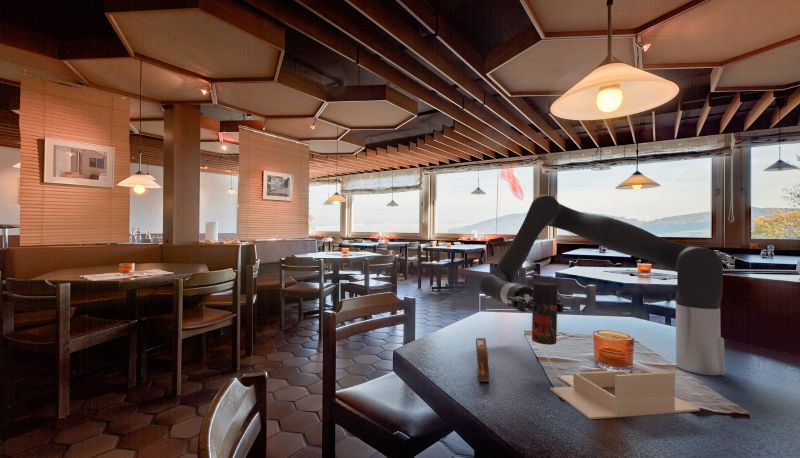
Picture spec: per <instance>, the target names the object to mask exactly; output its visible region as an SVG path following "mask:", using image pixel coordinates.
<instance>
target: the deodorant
mask: <svg viewBox="0 0 800 458" xmlns="http://www.w3.org/2000/svg"><path fill="white" fill-rule="evenodd" d="M558 286H559V285H558V284H557V283H554V282H548V281H547V282H544V281H535V282H534V281H533V282H532V289H533V302H534V303H537V304H539V306H540V312H539V313H535V312H533V311H531V313H532V318H531V319H532V320H531V324H532V325H531V326H532V327H531V340H532V342H534V343H537V344H541V345H550V346H551V345H556V344H557V337H558V336H557V332H558V329H557V328H558V327H557V326H558V312H557V299H558Z"/></svg>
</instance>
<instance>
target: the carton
mask: <svg viewBox="0 0 800 458" xmlns="http://www.w3.org/2000/svg"><path fill="white" fill-rule="evenodd" d="M557 379H559V380H560V381H562V382H564V383H565V384H566V385H568V386H557V387H549V390H550V391H551V392H553V394H555V395H557V396H558V397H559V398H561V399H562V400H563V401H564V402H565V403H567V404H569V405H570V406H571V407H573V408H574V409H575V410H577V411H578V412H579V413H580V414H582V415H583V416H585V417H586V418H587V419H589V420H598V419H610V418H612V419H613V418H624V417H626V418H627V417H637V416H651V415H663V414H676V413H687V412H688V413H690V412H700V411H701V408H699V407H697V406H695V405H692V404H690V403H689V402H687V401H685V400H683V399H680V398H679V397H676V383H675V382H676V373H675V372H674V371H667V372H665V371H663V372H649V373H647V372H646V373H630V372H627V371H625V370H623V369H622V370H606V371H605V370H603V371H588V372H587V371H586V372H573V374H572V375H571V374H570V375H558V376H557ZM604 388H614V394H612V393H610V392H609V391H607V390H605V389H604Z"/></svg>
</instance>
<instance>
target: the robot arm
mask: <svg viewBox="0 0 800 458" xmlns="http://www.w3.org/2000/svg"><path fill="white" fill-rule="evenodd" d="M546 226H547V227H552V228H556V229H560V230H562V231H566V232H569V233H572V234H574V235H576V236H578V237H580V238H581V239H585V240H587V241H588V242H591V243H593V244H596V245H598V246H600V247H603V248H606V249H609V250H611V251H614V252H616V253H620V254H622V255H623V254H624V255H627V256H630V257H635V258H640V259H643V260H647V261H650V262H654V263H656V264H658V265H661V266H663V267H665V268H667V269H670V270H672V271H674V272H676V273H677V276H676V278H677V281H676V282H677V284H676V285H677V286H676V293H675V366H677V367H678V368H679V369H681V370H683V371H686V372H690V373H694V374H698V375H705V376H725V339H724V337H722V336H721V302H722V299H723V288H724V287H723V284H724V279H723V277H724V268H723V267H724V266H723V261H722V259H721V257H720V256H719V254H717V253H716V252H715V251H713V250H712V249H710V248H707V247H701V246H693V245H689V244H684V243H680V242H676V241H672V240H669V239H666V238H663V237H660V236H657V235H656V234H653V233H651V232H650V231H647V230H645V229H643V228H641V227H639V226H636V225H634V224H631V223H628V222H626V221H623V220H620V219H618V218H614V217H610V216H606V215H601V214H600V215H599V214H595V213H587V212H582V211H579V210H575V209H573V208H571V207H568V206H566V205H564V204H561V203H560V202H559V201H558V200H557V199H556V198H555V197H554V196H552V195H549V194H541V195H539V196H537V197H536V198H534V199H533V201H532V202H531V204H530V206H529V209H528V211H527V213H526V216H525V218H524V220H523V222H522V223H521V225H520V228H519V229H518V232H517V233H516V234H515V237H514V238H513V240H512V241H511V243H509V244H510V245H509V246H508V247H507V248H506V251H505V252H504V254H503V255H502V256H501V258H500V259H499V261H498V262H497V265H496V268H497V269H498V271H499V272H500V273H501V274H502V275H503V277H502V278H500V277H498V276H497V275H494V274H488V273H487V274H486V275H484V276H482V277H481V278H480V281H479V289H480V292H481V293H483V294H484V295H487V296H488V297H491V299H494V300H495V301H498V302H502V303H504V304H505V305H506V306H508V307H510V308H513V309H514V310H517V311H519V312H523V313H527V312H530V311H531V312H532V311H533V312H535V313H539V312H540V306H539V304H537V303H534V302H533V287H530V286H528V285H525V284H521V283H518V282H514V281H515V278H516V276H517V274H518V272H519V271H520V269H521V268H522V266H523V265H524V263H525V262H526V260H527V258H528V256H529V255H530V252H531V250H532V249H533V246H534V244H535V242H536V240H537V239H538V237H539V235H540V234H541V232H542V231H543V230H544V229H545V227H546ZM561 302H562V301H561V299H560V298H557V313H564V304H563V303H561Z"/></svg>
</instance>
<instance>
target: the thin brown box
mask: <svg viewBox="0 0 800 458" xmlns="http://www.w3.org/2000/svg"><path fill="white" fill-rule="evenodd" d="M475 348H476V349H475V350H476V364H477V378H478V382H481V383H482V382H483V383H490V370H489V369H490V368H489V355H488V353H489V352H488V346H487V339H486V337H476V339H475Z"/></svg>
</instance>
